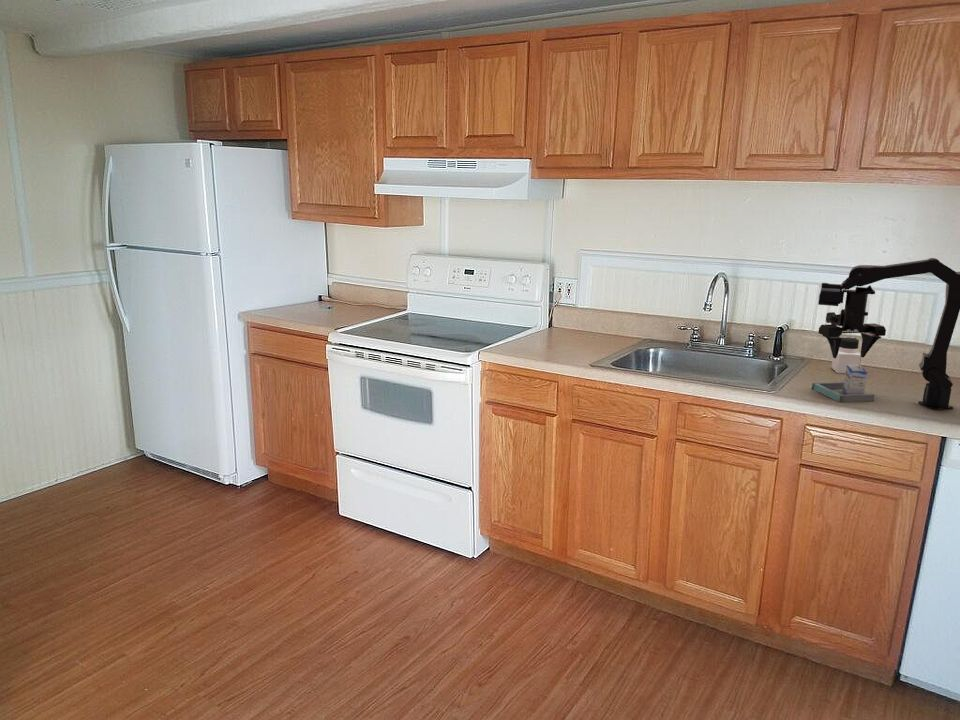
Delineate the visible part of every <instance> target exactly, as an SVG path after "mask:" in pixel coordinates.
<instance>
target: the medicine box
mask: <svg viewBox="0 0 960 720" xmlns="http://www.w3.org/2000/svg"><path fill="white" fill-rule="evenodd" d="M867 378H868V371H867V370H865V369H864V368H863V366H862V365H860V366H858V365H847V366H846V373H845V374H844V380H843V382H844V386H843V389H842V391H843V392H844V394H845V395H847V394H865V391H866V383H867Z"/></svg>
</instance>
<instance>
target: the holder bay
mask: <svg viewBox="0 0 960 720" xmlns="http://www.w3.org/2000/svg"><path fill="white" fill-rule="evenodd" d="M843 386H844V381H827V382H812V384H811V390H813V389H814V391H815V390H816V392H817V391H818V392H817V393H819V392H820V393H819V394H821V393H822V394H821V395H823V394H824V396H825V395H826V396H825V397H827V396H828V398H829V397H830V399H831V398H832V399H831V400H834V401H836V402H838V403H855V402H856V403H858V402H857V401H861V402H874V400H875V394H874V393H864V394H847V395H846V394H841V393H839V392H836V391H835V390H843Z"/></svg>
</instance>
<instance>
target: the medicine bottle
mask: <svg viewBox="0 0 960 720" xmlns="http://www.w3.org/2000/svg"><path fill="white" fill-rule="evenodd" d="M841 338H842V340H841V343H840V347H839V351H838V355H837V357H836V358H833V357H832V363H831V369H833V371H834V370H835V371H834V372H836V373H837V374H844V373H846V366H847V365H858V366H861V362H862V361H861V360H862V357H861V352H859V351H858V350H859V344H860V340H859V339H858V338H857V337H853V336H851V337H850V336H842V337H841Z"/></svg>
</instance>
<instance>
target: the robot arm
mask: <svg viewBox="0 0 960 720" xmlns="http://www.w3.org/2000/svg"><path fill="white" fill-rule="evenodd" d="M923 274H932V275H933V276H935V277H936V278H938V279H940V280H941V281H942V282H944V283H945V284H946V285H945V301H944V306H943V309H942V313H941V316H940V320H939V323H938V327H937V329H936V332H935V337H934V340H933V343H932V346H931V349H930V350H929V352H928V353H926V352H922V358H921V362H920V363H919V364H918V366H919V369H920V372H921V374H922V377H923V379H924V380H925V381H927V382H926V384H925V387H924V391H923V397H922V400H918V404H920V405H923V406H924V407H927V408H929V409H932V410H948V409H951V410H952V409H954V406H952V405H950V398H951V396H952V394H951V393H952V387H953V385H954V383H953V382H952V381H953V380H952V379H951V377H950V376H949V375H948V374H947V359H948V351H949V347H950V344H951V341H952V337H953V334H954V330H955V328H956V324H957V320H958V317H959V315H960V271H956V270H954V269H952V268H951V267H949V266H948V265H946V264H945V263H943V262H941V261H940V260H939V259H938V258H936V257H929V258H927V259H921V260H914V261H909V262H908V261H907V262H899V263H893V264H886V265H872V264H867V265H866V264H862V265H861V264H859V265H854V266H853V267H852V268H851V269H850V271H849V273H848V277H846V279H845V280H843V281H842V282H841V284H840V283H838V284H837V283H829V282H821V285H820V286H821V287H820V292H819V296H818V304H817V305H819V306H831V307H839V305H841V304H844V303H843V302H844V298H845V304H844V308H842V309H841V311H840V313H839V314H836V312H835V311H834V312H832V311H829V312H826V316H825V323H826V324H821V325H820V326H819V328H818V334H820V335H821V336H822V337H824V338H826V339H827V341H828V344H829V347H830V351H831V354H832V359H833V358H836V357H837V355H838V351H839V347H840V343H841V340H842V337H841V335H842V334H860V335H861V338H862V339H861V340H862V341H861V348H860V354H861V358H865V357H866V355H867V353H869V351H870V350H871V348H872V347H873V346H874V345H875V343H876V342H878V340H879V339H882V337H883V336H884V337H885V336H886V332H887V329H886V327H885V326H884V325H882V324H877V323H865V317H866V316H867V317H868V316H869V312H868V311H866V310H867V303H868V295H876V290H874V289H873V288H872V285H871V284H873V283H876V282H880V281H882V280H886V279H893V278H894V279H895V278H899V277H907V276H915V275H916V276H917V275H923ZM867 285H868V286H867ZM863 286H867V287H863ZM854 287H855V289H853V288H854ZM845 293H846V296H845ZM844 296H845V297H844Z"/></svg>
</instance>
